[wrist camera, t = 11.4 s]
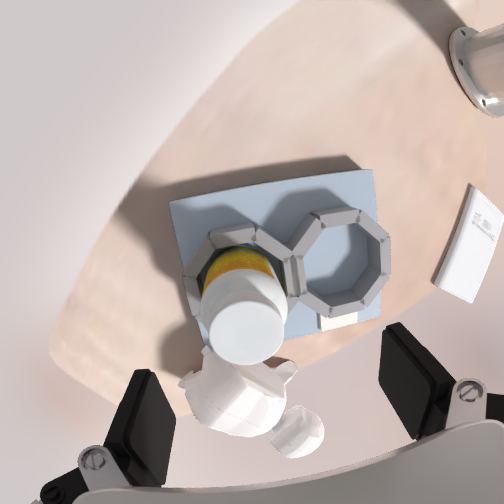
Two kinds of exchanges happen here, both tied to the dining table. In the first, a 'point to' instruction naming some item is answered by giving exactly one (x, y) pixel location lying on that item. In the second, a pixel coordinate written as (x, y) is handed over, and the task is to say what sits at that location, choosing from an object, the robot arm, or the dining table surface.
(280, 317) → the supplement bottle
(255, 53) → the dining table surface
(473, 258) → the external hard drive
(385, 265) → the socket board
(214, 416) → the white figurine
